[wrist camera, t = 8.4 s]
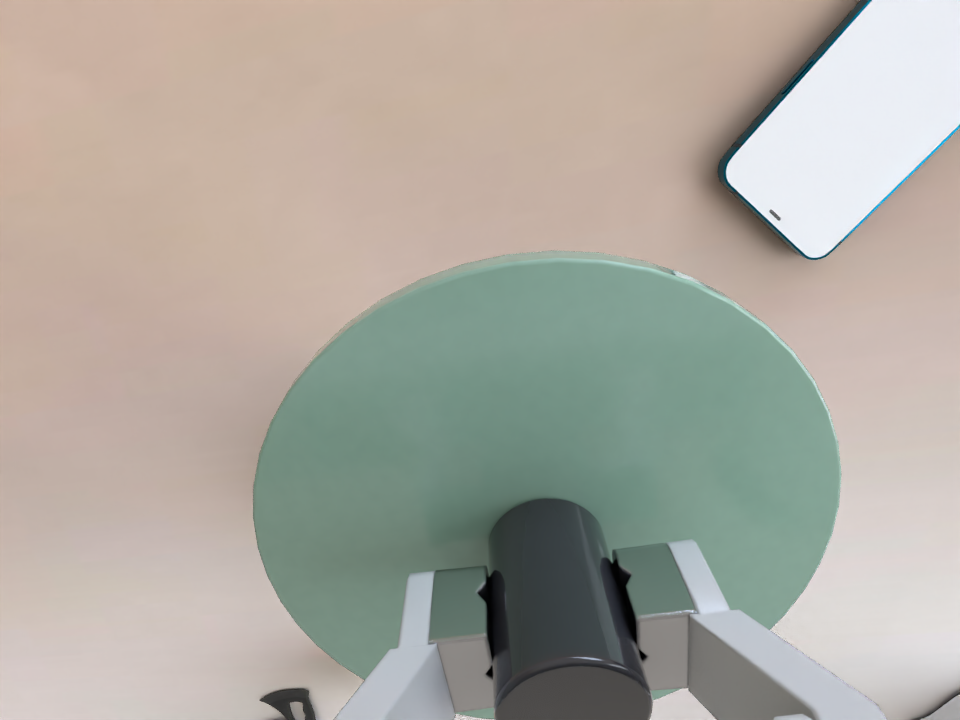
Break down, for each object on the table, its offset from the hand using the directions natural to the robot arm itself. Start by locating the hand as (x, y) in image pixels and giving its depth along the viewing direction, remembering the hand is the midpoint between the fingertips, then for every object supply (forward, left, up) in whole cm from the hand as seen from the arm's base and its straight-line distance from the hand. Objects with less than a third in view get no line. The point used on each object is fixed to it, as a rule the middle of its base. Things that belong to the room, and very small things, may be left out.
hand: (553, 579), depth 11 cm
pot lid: (0, 0, -2) cm, 2 cm away
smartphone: (+6, -19, -22) cm, 30 cm away
